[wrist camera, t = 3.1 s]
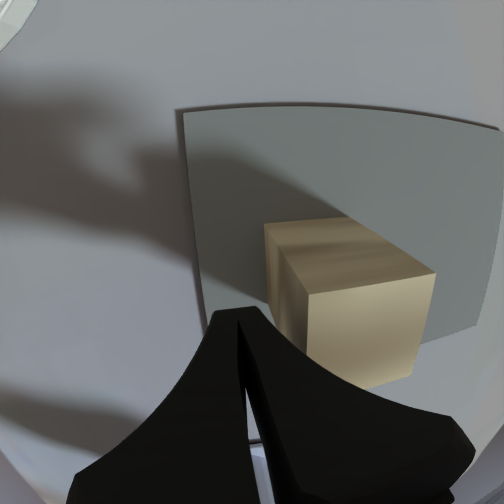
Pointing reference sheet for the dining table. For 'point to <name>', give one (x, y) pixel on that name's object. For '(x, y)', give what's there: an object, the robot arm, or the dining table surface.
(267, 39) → the dining table surface
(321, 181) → the rubber mat
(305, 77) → the dining table surface
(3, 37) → the white cup
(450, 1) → the dining table surface
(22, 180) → the dining table surface
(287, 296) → the maple block
